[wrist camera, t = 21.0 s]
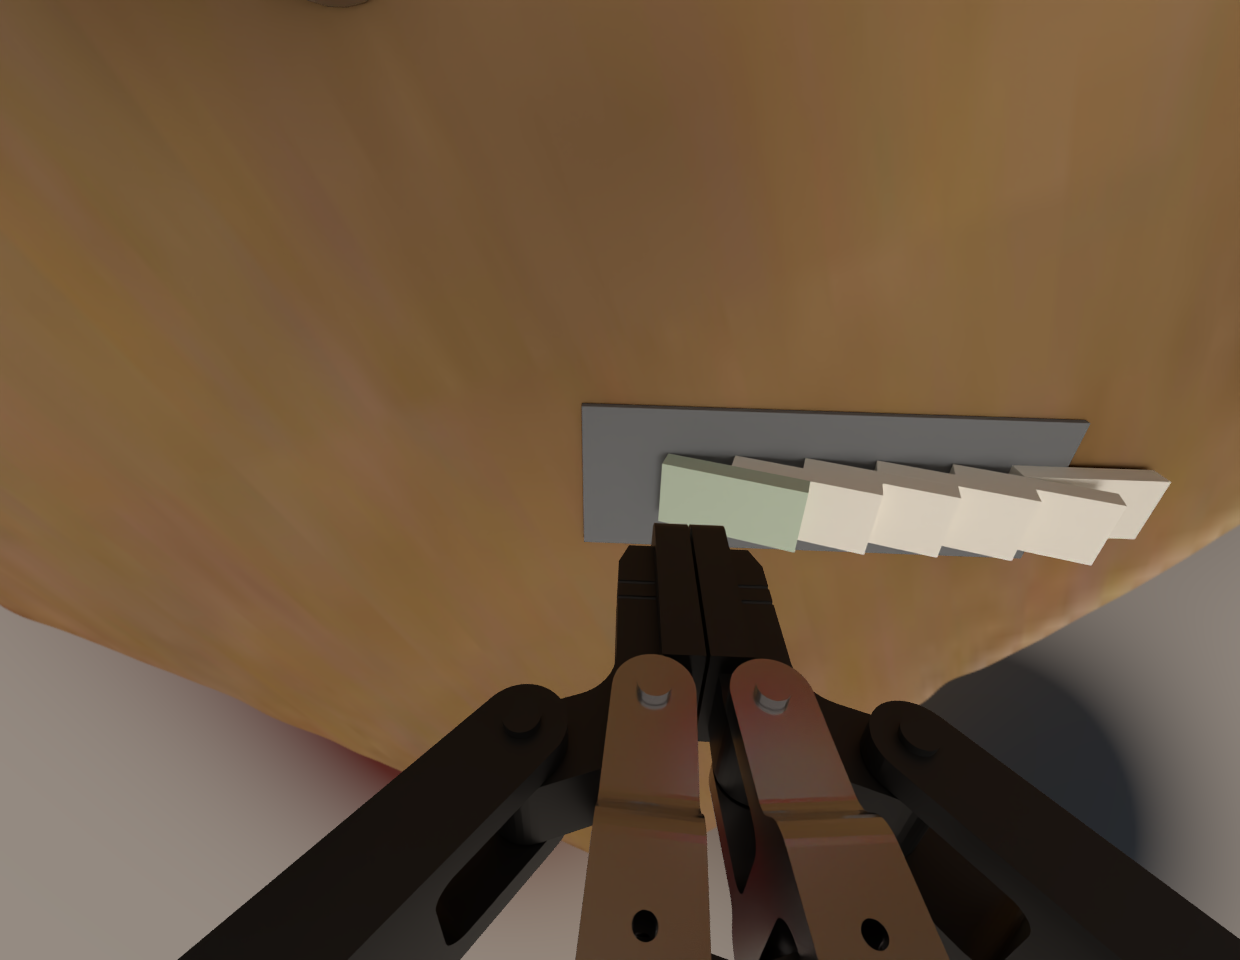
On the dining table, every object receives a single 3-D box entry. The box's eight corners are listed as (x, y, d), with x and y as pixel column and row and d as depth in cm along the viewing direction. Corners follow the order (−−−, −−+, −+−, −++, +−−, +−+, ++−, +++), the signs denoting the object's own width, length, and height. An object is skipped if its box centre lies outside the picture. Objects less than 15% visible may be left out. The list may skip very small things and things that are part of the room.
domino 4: (859, 528, 42) (1011, 561, 39) (877, 471, 39) (1041, 501, 37) (860, 516, 43) (1007, 547, 40) (877, 460, 41) (1035, 489, 38)
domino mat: (584, 537, 46) (584, 541, 46) (582, 403, 40) (581, 406, 39) (1017, 554, 45) (1020, 558, 45) (1085, 420, 39) (1090, 423, 39)
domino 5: (932, 531, 42) (1091, 565, 39) (955, 474, 39) (1127, 506, 36) (931, 519, 43) (1084, 551, 40) (952, 464, 41) (1118, 493, 38)
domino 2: (722, 522, 42) (863, 554, 39) (731, 465, 40) (883, 495, 37) (727, 511, 44) (864, 541, 41) (735, 455, 41) (882, 483, 38)
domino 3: (790, 525, 42) (936, 557, 39) (803, 468, 40) (961, 498, 37) (792, 514, 44) (934, 544, 41) (805, 457, 41) (958, 486, 38)
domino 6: (998, 533, 42) (1134, 538, 42) (1025, 476, 39) (1171, 482, 39) (987, 521, 43) (1119, 526, 43) (1012, 465, 41) (1153, 470, 40)
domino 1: (658, 520, 42) (794, 552, 40) (662, 463, 40) (808, 493, 37) (664, 509, 44) (796, 539, 41) (668, 453, 41) (810, 481, 38)
